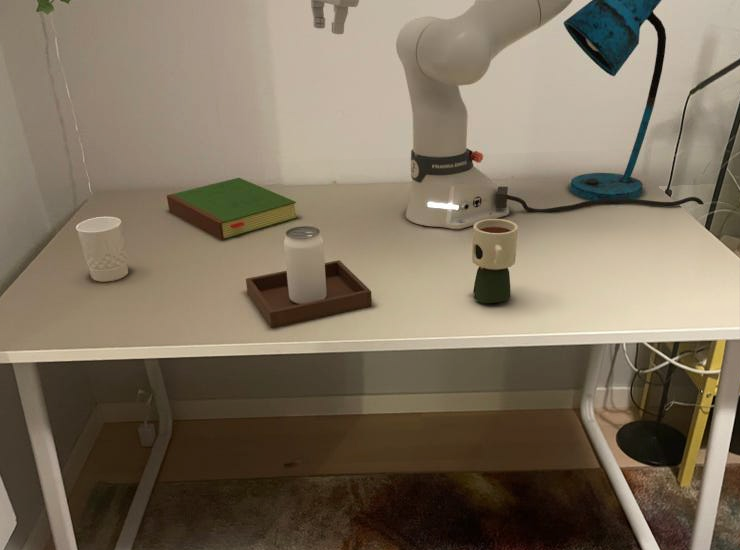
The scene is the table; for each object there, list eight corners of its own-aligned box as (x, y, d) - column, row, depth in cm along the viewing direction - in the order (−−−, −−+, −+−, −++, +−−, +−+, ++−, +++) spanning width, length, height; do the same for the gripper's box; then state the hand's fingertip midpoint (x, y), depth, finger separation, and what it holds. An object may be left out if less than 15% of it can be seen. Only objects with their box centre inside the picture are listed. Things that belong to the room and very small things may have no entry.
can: (321, 307, 125) (316, 240, 119) (284, 305, 126) (277, 238, 120) (330, 290, 131) (326, 225, 124) (295, 288, 132) (289, 224, 126)
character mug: (467, 285, 131) (469, 214, 125) (507, 284, 131) (512, 213, 124) (473, 314, 122) (477, 239, 115) (517, 313, 122) (523, 238, 115)
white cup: (92, 287, 136) (79, 235, 131) (85, 271, 142) (72, 221, 137) (135, 277, 139) (125, 226, 134) (126, 263, 145) (116, 213, 140)
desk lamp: (540, 183, 179) (558, -28, 156) (629, 177, 180) (660, -33, 157) (560, 205, 165) (583, -23, 142) (657, 199, 166) (695, -28, 143)
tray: (340, 274, 137) (339, 260, 136) (371, 306, 126) (371, 291, 124) (247, 293, 132) (245, 278, 130) (271, 328, 120) (269, 312, 119)
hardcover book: (169, 211, 170) (166, 195, 168) (240, 192, 180) (239, 177, 178) (223, 241, 153) (221, 224, 151) (299, 219, 163) (297, 202, 161)
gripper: (371, -55, 121) (366, 38, 128) (327, -57, 137) (325, 25, 144) (335, -58, 119) (332, 37, 125) (294, -59, 135) (293, 24, 141)
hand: (328, 30), depth 135 cm, fingers open, 8 cm apart
